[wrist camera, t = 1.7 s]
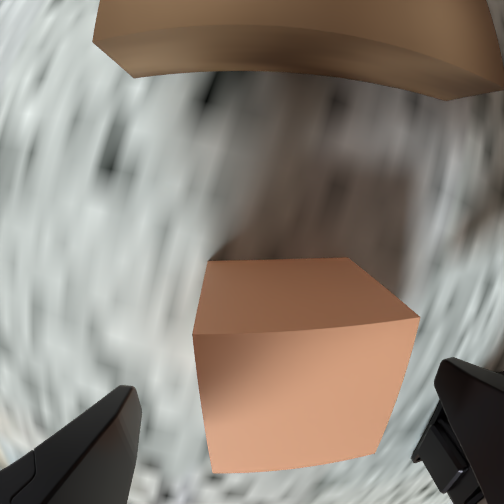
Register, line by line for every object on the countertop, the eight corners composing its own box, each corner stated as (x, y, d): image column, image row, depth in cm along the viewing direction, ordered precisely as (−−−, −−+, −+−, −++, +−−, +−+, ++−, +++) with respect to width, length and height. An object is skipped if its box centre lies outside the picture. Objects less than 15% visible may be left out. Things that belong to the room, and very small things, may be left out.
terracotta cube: (346, 256, 11) (420, 317, 6) (332, 367, 12) (374, 453, 7) (208, 260, 11) (192, 334, 6) (215, 375, 12) (212, 473, 7)
